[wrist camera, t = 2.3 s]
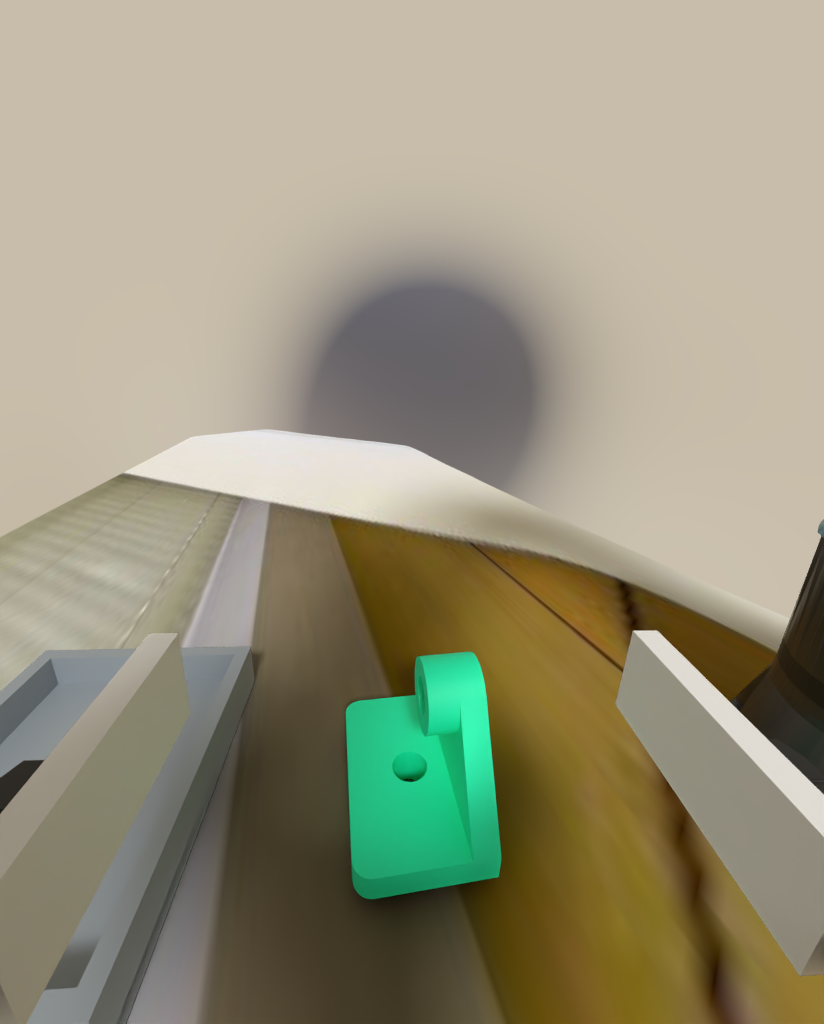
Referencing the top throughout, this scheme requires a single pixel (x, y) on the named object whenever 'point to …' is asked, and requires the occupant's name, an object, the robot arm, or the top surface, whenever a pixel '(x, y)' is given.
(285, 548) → the top surface
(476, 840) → the camera mount
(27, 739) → the tray
